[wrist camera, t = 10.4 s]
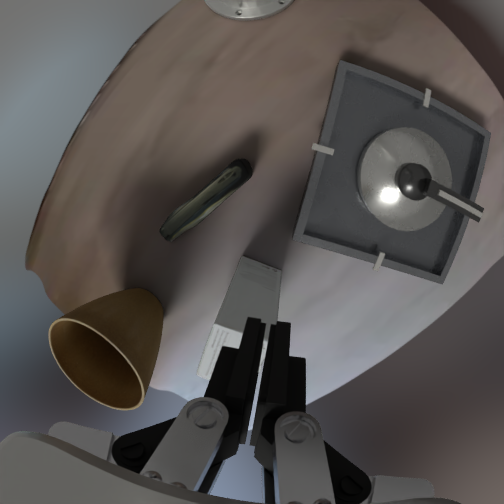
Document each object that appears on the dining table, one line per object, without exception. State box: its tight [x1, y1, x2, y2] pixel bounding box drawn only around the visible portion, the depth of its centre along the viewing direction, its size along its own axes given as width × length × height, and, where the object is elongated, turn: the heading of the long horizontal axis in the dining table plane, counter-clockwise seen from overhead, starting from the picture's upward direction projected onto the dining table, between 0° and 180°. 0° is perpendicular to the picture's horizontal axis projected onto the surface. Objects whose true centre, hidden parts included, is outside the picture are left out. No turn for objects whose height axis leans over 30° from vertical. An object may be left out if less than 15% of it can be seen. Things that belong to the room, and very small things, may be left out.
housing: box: [292, 60, 491, 284], centre depth 29 cm, size 23×23×3 cm
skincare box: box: [197, 256, 282, 380], centre depth 32 cm, size 8×6×15 cm
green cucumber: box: [160, 159, 253, 242], centre depth 33 cm, size 5×3×15 cm
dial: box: [357, 127, 484, 231], centre depth 27 cm, size 16×12×6 cm
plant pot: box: [49, 288, 164, 410], centre depth 36 cm, size 15×15×16 cm
